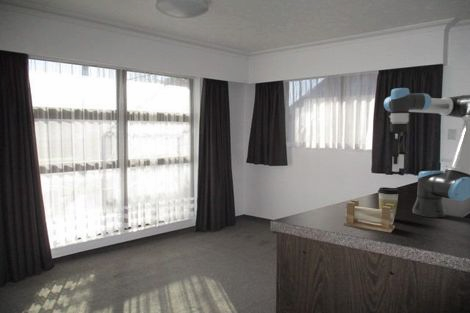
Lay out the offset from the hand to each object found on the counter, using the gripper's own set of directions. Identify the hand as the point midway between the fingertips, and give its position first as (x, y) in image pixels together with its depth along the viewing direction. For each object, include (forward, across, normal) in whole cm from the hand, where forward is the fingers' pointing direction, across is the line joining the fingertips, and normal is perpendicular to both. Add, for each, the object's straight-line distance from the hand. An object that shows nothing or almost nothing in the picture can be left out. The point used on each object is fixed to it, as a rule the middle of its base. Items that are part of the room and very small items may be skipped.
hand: (398, 169), depth 166 cm
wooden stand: (+25, +12, -10) cm, 29 cm away
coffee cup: (+26, -9, -6) cm, 28 cm away
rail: (+22, +12, -10) cm, 27 cm away
